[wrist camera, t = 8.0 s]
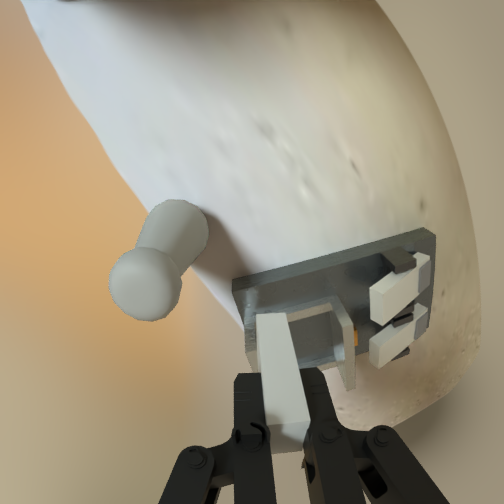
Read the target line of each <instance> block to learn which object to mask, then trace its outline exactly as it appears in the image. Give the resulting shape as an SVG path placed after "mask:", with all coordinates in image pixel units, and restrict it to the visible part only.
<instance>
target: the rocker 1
mask: <svg viewBox="0 0 504 504" xmlns="http://www.w3.org/2000/svg"><path fill="white" fill-rule="evenodd" d="M413 257H415V258H416V259H417V267H415V268H412V269H409V270H406V271H403V272H400V273H397V274H395V273H394V272H393V271H392V272H391V273H389V274H388V275H387V276H385V277H384V278H382V279H381V280H380V281H378V282H377V283H375V284H374V285H373V286H371V287H370V288H369V290H370V319H371V320H373V321H375V322H376V323H378V324H380V325H382V326H383V325H385V324H386V323H387V322H388V321H389V320H391V319H392V318H393V317H394V316H395V315H396V314H398V313H399V312H400V311H401V310H402V309H403V308H405V307H406V306H407V305H408V304H409V303H410V302H411V301H412V300H414V299H415V298H416V297H417V296H418V295H419V294H420V293H421V292H422V291H423V290H424V289H425V288H427V287H428V286H429V285H430V273H431V261H430V256H428V255H425V254H422V253H419V252H417V253H416V254H414V255H413Z"/></svg>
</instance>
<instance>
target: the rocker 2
mask: <svg viewBox="0 0 504 504" xmlns="http://www.w3.org/2000/svg"><path fill="white" fill-rule="evenodd" d="M427 310H428V308H426V307H424V306H423V305H421V304H419V303H417V304H416V305H415V306H414V311H413V312H412V313H413V314H414V318H413V321H411V322H408V323H406V324H403V325H401V326H398V327H396V328H394V327H393V326H392V325H391V324H390V325H388V326H387V327H386V328H384V329H383V330H382V331H380V332H379V333H378V334H376V335H375V336H373V337H372V338H370V339H369V362H370V363H371V364H372V365H373V366H374V367H376V368H377V369H378V370H379V369H380V368H381V367H383V366H384V365H385V364H387V363H388V362H389V361H390V360H392V359H393V358H394V357H395V356H397V355H398V354H399V353H400V352H402V351H403V350H404V349H405V348H406V347H408V346H409V345H410V344H411V343H412V342H413V341H415V340H416V339H418V338H419V337H420V336H421V335H422V334H423V333H424V332H425V331H426V326H427V319H428V312H427Z"/></svg>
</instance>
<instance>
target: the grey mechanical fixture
mask: <svg viewBox="0 0 504 504" xmlns="http://www.w3.org/2000/svg"><path fill="white" fill-rule="evenodd" d="M435 249H436V235H435V234H433V233H432V232H430V231H429V230H427V229H425V228H424V227H423V228H420V229H416V230H413V231H410V232H406V233H403V234H399V235H396V236H392V237H389V238H385V239H382V240H379V241H375V242H372V243H368V244H364V245H361V246H357V247H354V248H350V249H347V250H343V251H339V252H336V253H332V254H329V255H325V256H321V257H318V258H314V259H310V260H306V261H303V262H299V263H295V264H291V265H288V266H284V267H280V268H276V269H272V270H269V271H265V272H261V273H257V274H253V275H249V276H245V277H241V278H237V279H233V280H232V294H233V297H234V299H235V302H236V305H237V308H238V311H239V313H240V316H241V319H242V322H243V324H244V334H245V353H246V356H247V358H248V361H249V363H250V366H251V368H252V371H253V373H259V370H258V359H257V332H256V314H269V313H286V317H287V322H288V326H289V330H290V334H291V338H292V342H293V347H294V351H295V355H296V359H297V363H298V368H299V369H302V368H311V367H317V368H318V369H319V370H320V371H323V370H326V369H330V368H333V367H336V366H337V367H338V369H339V372H340V375H341V377H342V380H343V383H344V385H345V388H346V391H349V390H352V389H355V355H358V354H361V353H364V352H367V351H369V339H370V338H372V337H373V336H375V335H376V334H378V333H379V332H380V331H382V330H383V329H384V328H386V327H387V326H388V325H390V324H391V325H392V326H393V327H394V328H396V327H398V326H401V325H403V324H406V323H408V322H411V321H413V318H414V314H413V313H412V312H413V311H414V306H415V305H416V304H417V303H419V304H421V305H423V306H424V307H426V308H428V310H427V312H428V319H427V326H426V328H428V327H429V320H430V313H431V304H432V295H433V285H434V271H435ZM417 252H419V253H422V254H425V255H428V256H430V261H431V273H430V285H429V286H428V287H427V288H425V289H424V290H423V291H422V292H421V293H420V294H419V295H418V296H417V297H416V298H415V299H414V300H412V301H411V302H410V303H409V304H408V305H407V306H406V307H405V308H403V309H402V310H401V311H400V312H399V313H398V314H396V315H395V316H394V317H393V318H392V319H391V320H389V321H388V322H387V323H386V324H385V325H383V326H382V325H380V324H378V323H376V322H375V321H373V320H371V319H370V290H369V288H370V287H371V286H373V285H374V284H375V283H377V282H378V281H380V280H381V279H382V278H384V277H385V276H387V275H388V274H389V273H391V272H392V271H393V272H394V273H395V274H397V273H400V272H403V271H406V270H409V269H412V268H415V267H417V259H416V258H415V257H413V255H414V254H416V253H417ZM409 351H410V349H409V347H406V348H405V349H404V350H403V351H402V352H400V353H399V354H398V355H397V356H395V357H394V358H393V359H392V360H391V361H393V360H395V359H398V358H400V357H403V356H405V355H408V354H409Z"/></svg>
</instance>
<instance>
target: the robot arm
mask: <svg viewBox="0 0 504 504" xmlns="http://www.w3.org/2000/svg"><path fill="white" fill-rule="evenodd" d="M256 332H257V359H258V370H259V373H239V374H238V375H237V377H236V379H235V381H234V428H233V430H232V435H231V436H232V437H231V438H230V439H229V440H228V441H227V442H225V443H223V444H221V445H218V446H215V447H211V448H205V447H202V446H190V447H187V448H186V449H184V450H182V452H181V453H180V454H179V456H178V459H177V461H176V463H175V465H174V468H173V470H172V473H171V475H170V477H169V480H168V482H167V484H166V487H165V489H164V492H163V494H162V496H161V499H160V501H159V503H158V504H216V503H217V500H218V497H219V493H220V490H221V487H224V486H227V485H231V484H234V504H277V502H276V493H275V484H274V476H273V465H272V456H271V454H277V453H287V452H296V451H302V449H304V454H305V456H304V459H303V462H302V468H305V474H306V479H307V486H308V491H309V498H310V503H311V504H366V501H365V497H364V494H363V491H364V492H365V494H366V495H367V497H368V499H369V501H370V502H371V504H450V503H449V502H448V501H447V499H446V498H445V497H444V495H443V494H442V493H441V491H440V490H439V488H438V487H437V486H436V485H435V483H434V482H433V481H432V479H431V478H430V476H429V475H428V474H427V472H426V471H425V470H424V469H423V467H422V466H421V464H420V463H419V462H418V460H417V459H416V458H415V456H414V455H413V454H412V452H411V451H410V450H409V448H408V447H407V446H406V445H405V443H404V442H403V440H402V439H401V438H400V437H399V435H398V434H397V432H396V431H395V430H394V429H392V428H391V427H389V426H386V425H379V426H376V427H374V428H372V429H371V430H370V431H356V430H350V429H348V428H345V427H344V426H343V425H341V423H340V422H339V421H338V419H337V416H336V413H335V409H334V406H333V403H332V399H331V396H330V393H329V389H328V386H327V383H326V380H325V377H324V374H323V373H322V372H321V371H320V370H319V369H318V368H317V367H311V368H302V369H299V368H298V363H297V359H296V355H295V351H294V347H293V342H292V338H291V334H290V330H289V326H288V322H287V317H286V313H269V314H256ZM362 489H363V490H362Z"/></svg>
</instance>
